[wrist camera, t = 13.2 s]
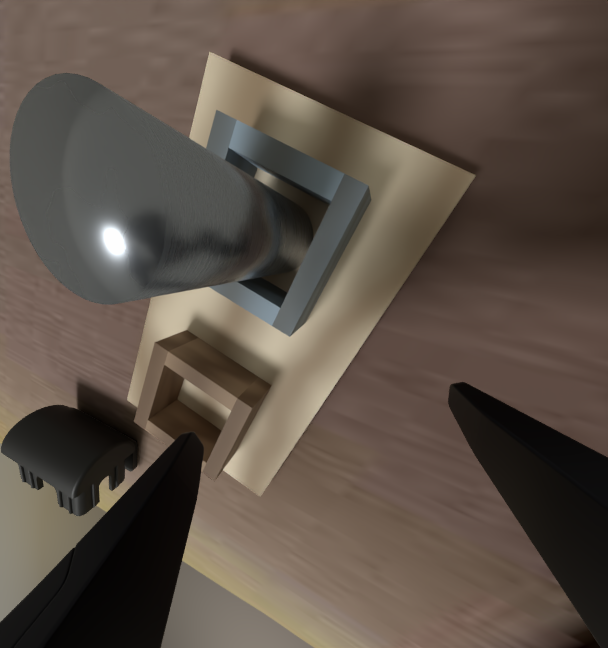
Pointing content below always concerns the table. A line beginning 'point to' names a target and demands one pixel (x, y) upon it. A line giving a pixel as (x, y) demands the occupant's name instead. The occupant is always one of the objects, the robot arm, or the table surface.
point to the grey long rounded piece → (139, 200)
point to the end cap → (69, 454)
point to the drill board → (287, 275)
